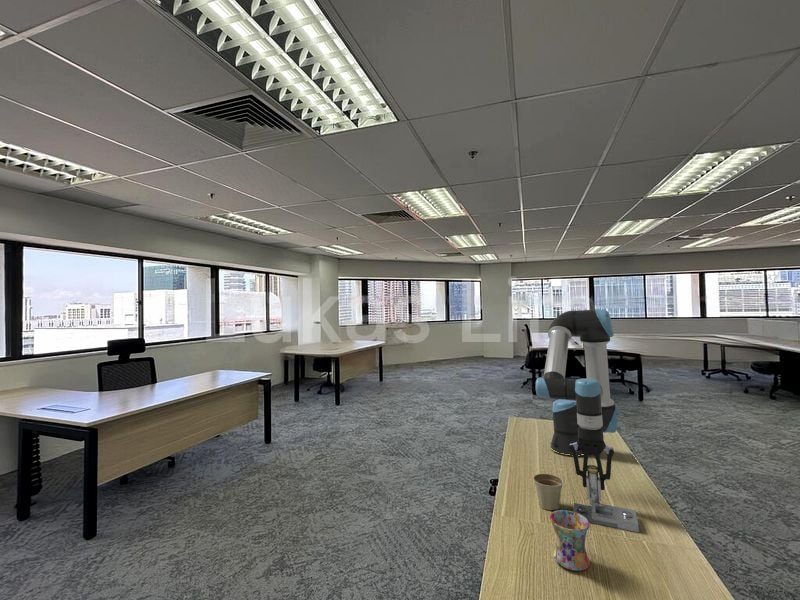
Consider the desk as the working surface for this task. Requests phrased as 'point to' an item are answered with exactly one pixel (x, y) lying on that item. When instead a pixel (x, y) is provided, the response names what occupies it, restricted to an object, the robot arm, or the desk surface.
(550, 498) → the flower pot
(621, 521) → the grey slotted base plate
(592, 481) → the pin
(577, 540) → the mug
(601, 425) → the robot arm
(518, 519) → the desk surface
